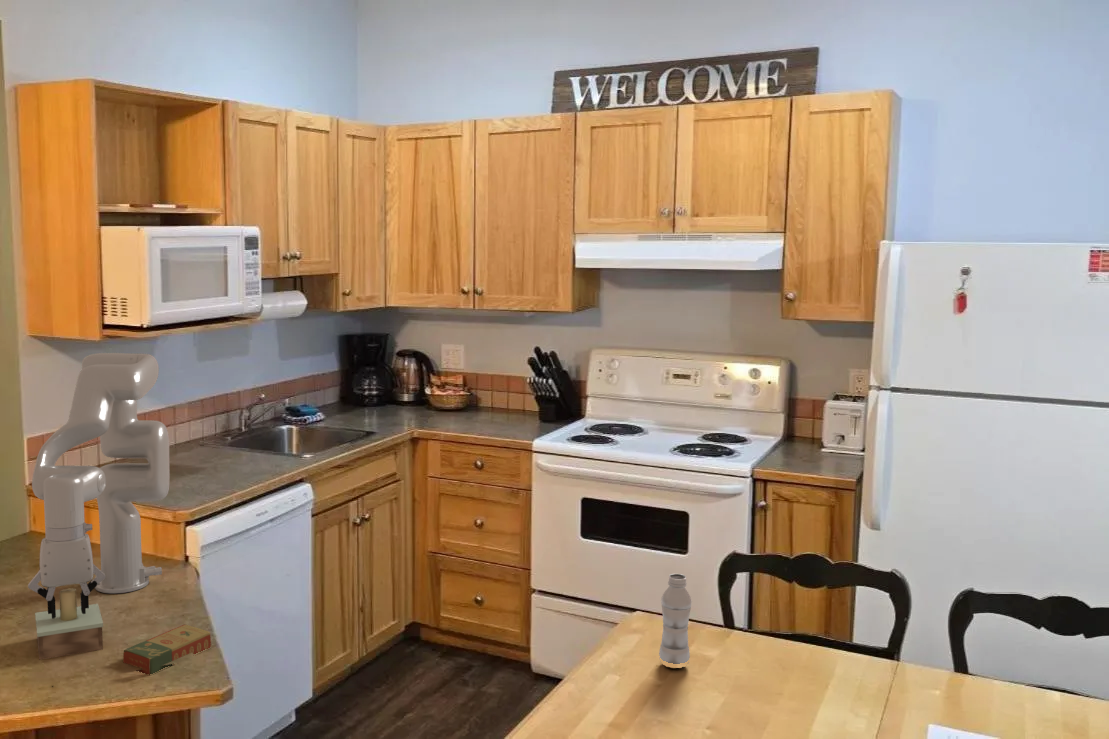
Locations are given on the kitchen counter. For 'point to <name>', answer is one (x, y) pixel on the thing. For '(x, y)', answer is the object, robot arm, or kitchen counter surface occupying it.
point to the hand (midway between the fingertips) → (68, 613)
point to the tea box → (70, 643)
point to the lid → (68, 616)
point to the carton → (167, 648)
